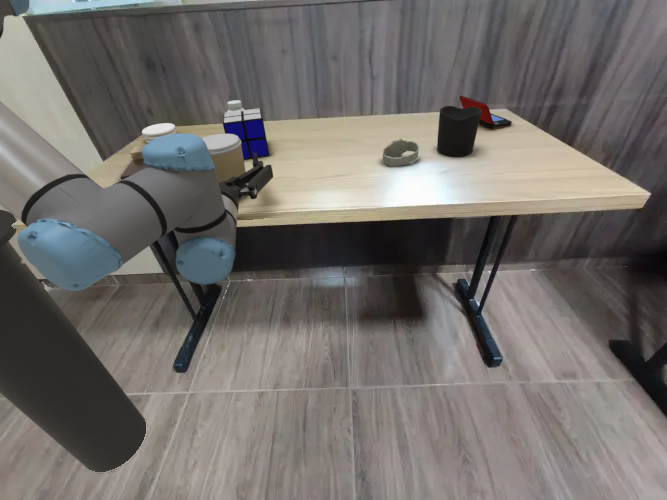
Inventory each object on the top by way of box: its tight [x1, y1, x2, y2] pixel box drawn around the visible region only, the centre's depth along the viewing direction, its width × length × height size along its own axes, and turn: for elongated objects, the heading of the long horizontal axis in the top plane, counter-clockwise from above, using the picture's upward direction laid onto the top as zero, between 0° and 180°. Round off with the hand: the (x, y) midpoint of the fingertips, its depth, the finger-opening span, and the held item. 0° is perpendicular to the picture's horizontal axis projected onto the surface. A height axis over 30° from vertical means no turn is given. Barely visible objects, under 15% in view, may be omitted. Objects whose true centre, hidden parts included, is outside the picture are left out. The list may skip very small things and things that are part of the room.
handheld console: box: [459, 95, 513, 130], centre depth 103 cm, size 12×11×7 cm
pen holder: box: [436, 105, 481, 158], centre depth 87 cm, size 9×9×10 cm
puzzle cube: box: [222, 107, 270, 160], centre depth 95 cm, size 10×10×10 cm
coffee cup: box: [201, 133, 246, 199], centre depth 75 cm, size 9×9×12 cm
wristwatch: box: [382, 138, 420, 167], centre depth 85 cm, size 9×6×5 cm
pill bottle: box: [226, 99, 245, 112], centre depth 107 cm, size 5×5×10 cm
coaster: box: [141, 122, 179, 144], centre depth 110 cm, size 10×10×4 cm
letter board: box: [120, 145, 146, 180], centre depth 95 cm, size 22×18×3 cm
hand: (224, 162), depth 76 cm, fingers open, 13 cm apart
